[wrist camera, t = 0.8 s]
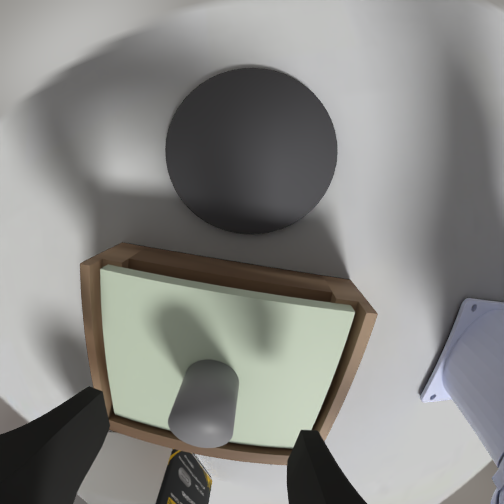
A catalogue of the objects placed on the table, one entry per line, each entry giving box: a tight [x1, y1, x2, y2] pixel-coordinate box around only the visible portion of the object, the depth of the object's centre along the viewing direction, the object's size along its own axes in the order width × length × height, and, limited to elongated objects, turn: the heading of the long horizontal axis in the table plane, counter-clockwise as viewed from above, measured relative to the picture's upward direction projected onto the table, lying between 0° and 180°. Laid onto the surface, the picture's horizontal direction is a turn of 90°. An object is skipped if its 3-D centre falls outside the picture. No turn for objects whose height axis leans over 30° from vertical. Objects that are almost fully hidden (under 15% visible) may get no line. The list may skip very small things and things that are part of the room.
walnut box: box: [80, 242, 378, 465], centre depth 14 cm, size 10×12×4 cm
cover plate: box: [100, 264, 355, 449], centre depth 11 cm, size 9×10×4 cm
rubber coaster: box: [166, 68, 337, 234], centre depth 13 cm, size 8×8×1 cm
